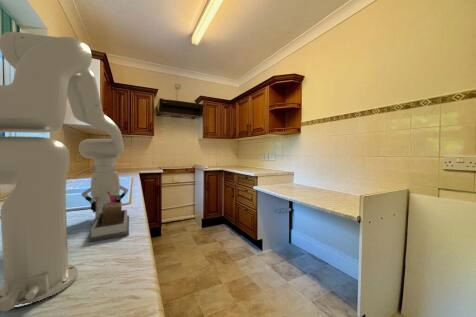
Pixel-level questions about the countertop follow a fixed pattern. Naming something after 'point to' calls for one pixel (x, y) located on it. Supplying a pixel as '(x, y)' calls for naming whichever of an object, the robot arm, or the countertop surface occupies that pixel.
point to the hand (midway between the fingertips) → (106, 209)
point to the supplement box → (103, 202)
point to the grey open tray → (110, 223)
